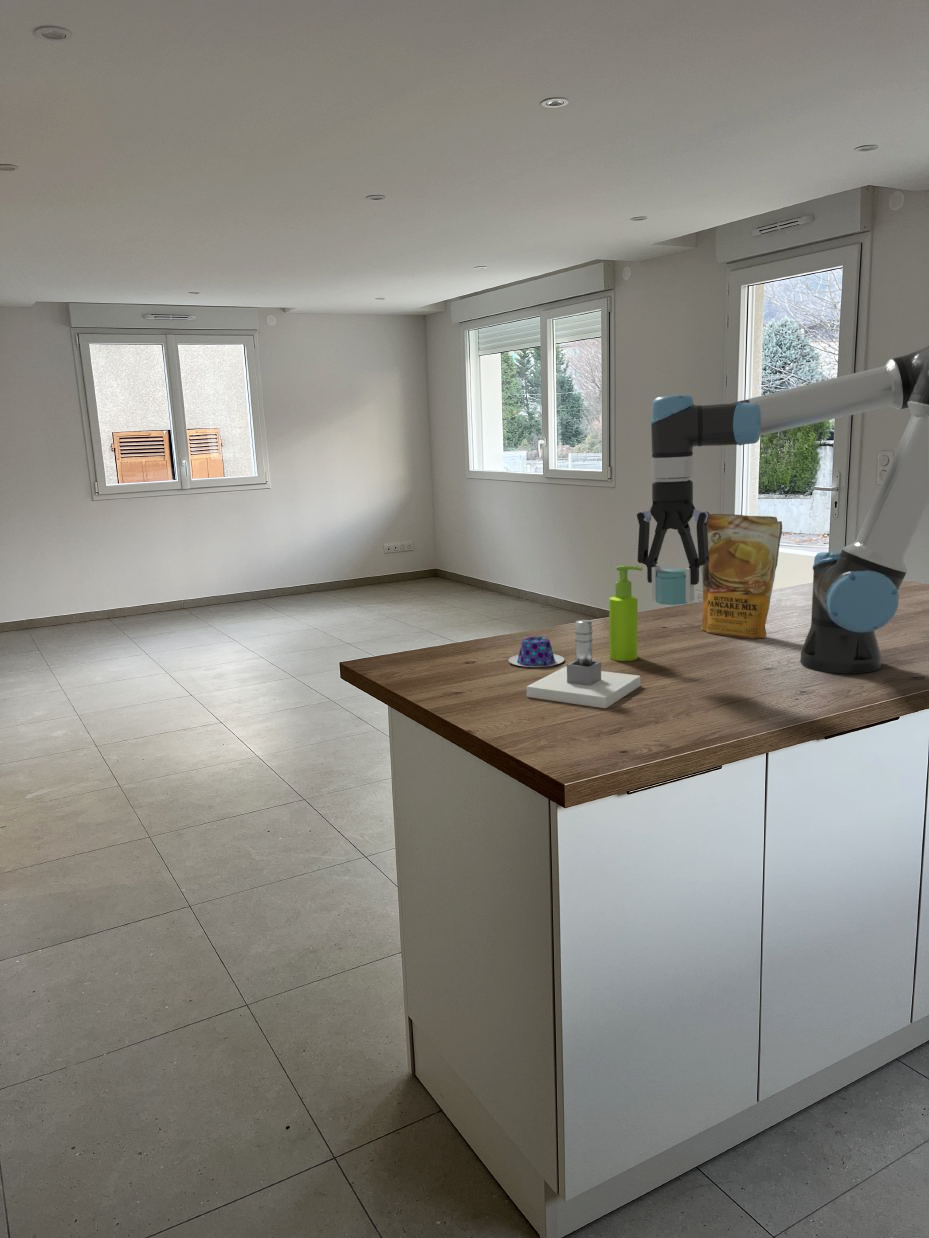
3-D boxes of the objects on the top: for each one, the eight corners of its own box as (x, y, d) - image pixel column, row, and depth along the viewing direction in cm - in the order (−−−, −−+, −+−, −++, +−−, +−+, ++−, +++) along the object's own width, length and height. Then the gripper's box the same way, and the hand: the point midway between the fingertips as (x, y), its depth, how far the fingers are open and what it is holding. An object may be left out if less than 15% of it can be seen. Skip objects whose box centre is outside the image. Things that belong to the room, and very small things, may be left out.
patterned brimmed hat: (524, 673, 186) (523, 648, 185) (499, 660, 197) (498, 637, 196) (574, 665, 191) (574, 641, 190) (547, 653, 202) (547, 630, 201)
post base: (640, 685, 173) (640, 658, 172) (605, 708, 160) (605, 678, 159) (565, 676, 181) (564, 649, 180) (526, 696, 168) (526, 668, 167)
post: (595, 672, 170) (595, 620, 168) (588, 676, 168) (587, 623, 166) (580, 670, 172) (579, 619, 170) (572, 674, 169) (572, 622, 167)
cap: (693, 599, 175) (693, 569, 174) (682, 605, 170) (682, 574, 169) (663, 598, 179) (663, 568, 178) (652, 603, 174) (651, 572, 173)
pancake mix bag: (704, 626, 222) (706, 512, 216) (779, 635, 209) (784, 515, 204) (691, 631, 217) (693, 515, 211) (767, 641, 204) (772, 517, 199)
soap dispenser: (642, 661, 191) (642, 567, 187) (609, 660, 192) (608, 568, 188) (642, 654, 196) (642, 563, 192) (610, 654, 198) (610, 564, 194)
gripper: (728, 477, 168) (727, 599, 172) (632, 479, 178) (634, 594, 183) (716, 480, 162) (715, 606, 166) (617, 482, 172) (619, 601, 177)
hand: (673, 600), depth 175 cm, fingers closed on cap, 6 cm apart
